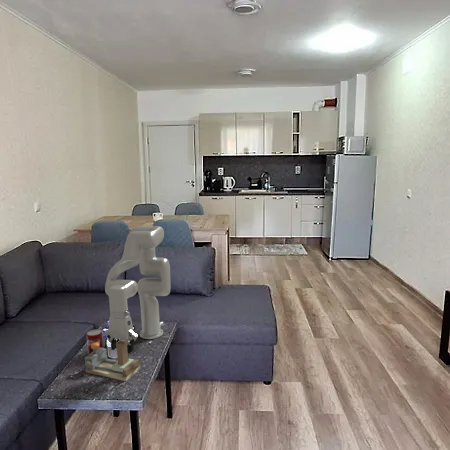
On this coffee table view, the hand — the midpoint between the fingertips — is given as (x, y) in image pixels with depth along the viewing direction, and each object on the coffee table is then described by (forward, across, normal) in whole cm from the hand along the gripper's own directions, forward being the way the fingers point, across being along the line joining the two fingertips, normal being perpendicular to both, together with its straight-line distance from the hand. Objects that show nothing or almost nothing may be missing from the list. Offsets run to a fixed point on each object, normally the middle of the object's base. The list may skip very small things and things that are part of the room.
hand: (122, 350), depth 177 cm
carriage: (+8, 0, 0) cm, 8 cm away
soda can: (+11, +23, -9) cm, 27 cm away
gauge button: (+4, +15, 0) cm, 15 cm away
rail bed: (+11, +6, 0) cm, 12 cm away
